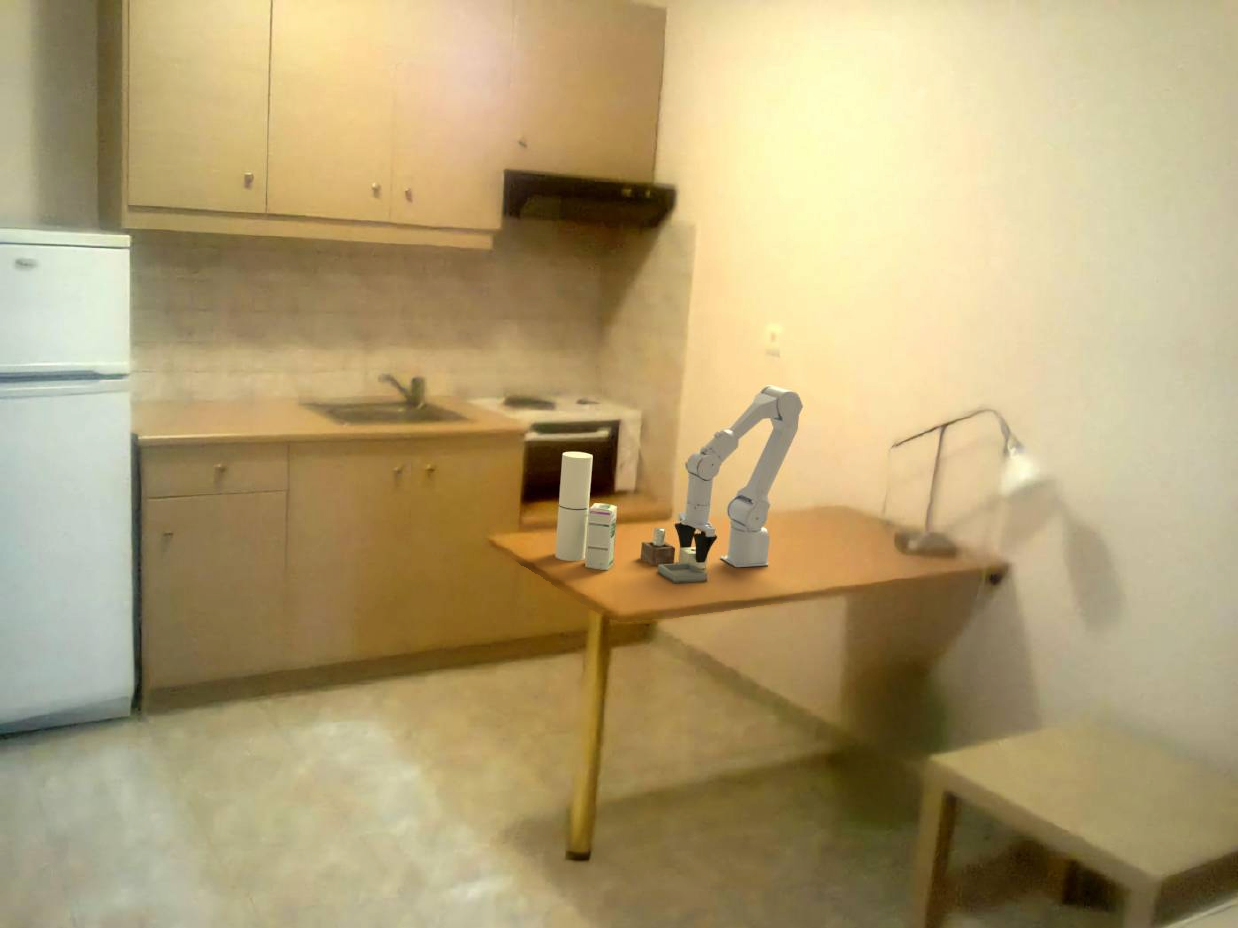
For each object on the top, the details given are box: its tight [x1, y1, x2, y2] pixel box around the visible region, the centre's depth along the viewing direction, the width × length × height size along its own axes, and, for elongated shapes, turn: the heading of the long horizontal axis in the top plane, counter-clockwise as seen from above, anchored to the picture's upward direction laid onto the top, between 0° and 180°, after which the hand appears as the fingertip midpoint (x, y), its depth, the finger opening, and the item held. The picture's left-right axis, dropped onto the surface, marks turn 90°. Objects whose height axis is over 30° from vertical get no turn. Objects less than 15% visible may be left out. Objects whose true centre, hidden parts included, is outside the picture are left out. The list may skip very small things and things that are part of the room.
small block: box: [677, 546, 708, 570], centre depth 258 cm, size 5×5×4 cm
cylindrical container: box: [554, 451, 594, 562], centre depth 255 cm, size 7×7×25 cm
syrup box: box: [584, 502, 618, 571], centre depth 251 cm, size 6×6×14 cm
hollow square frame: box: [640, 540, 676, 566], centre depth 259 cm, size 6×6×4 cm
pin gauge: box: [652, 527, 666, 548], centre depth 259 cm, size 3×3×8 cm
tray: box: [657, 562, 708, 584], centre depth 249 cm, size 8×8×2 cm
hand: (692, 557), depth 258 cm, fingers open, 7 cm apart
